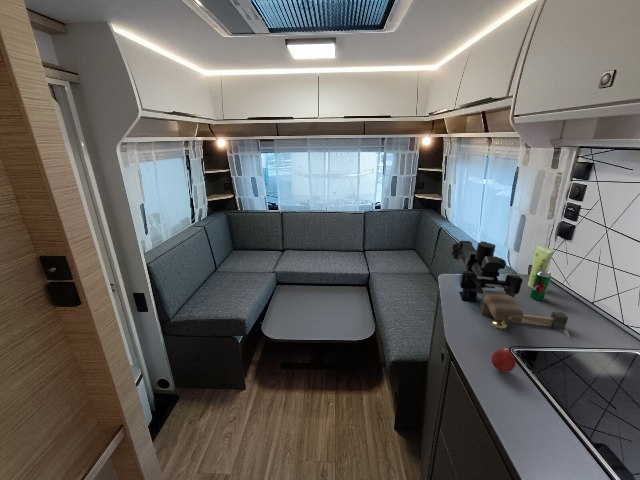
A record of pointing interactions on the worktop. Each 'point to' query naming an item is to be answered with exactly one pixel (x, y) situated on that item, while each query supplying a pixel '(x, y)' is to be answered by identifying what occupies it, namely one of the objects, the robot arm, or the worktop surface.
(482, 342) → the worktop surface
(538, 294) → the soda can
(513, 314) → the walnut cabinet
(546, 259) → the tube
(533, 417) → the worktop surface
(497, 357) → the onion
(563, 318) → the wooden mallet
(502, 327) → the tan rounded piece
